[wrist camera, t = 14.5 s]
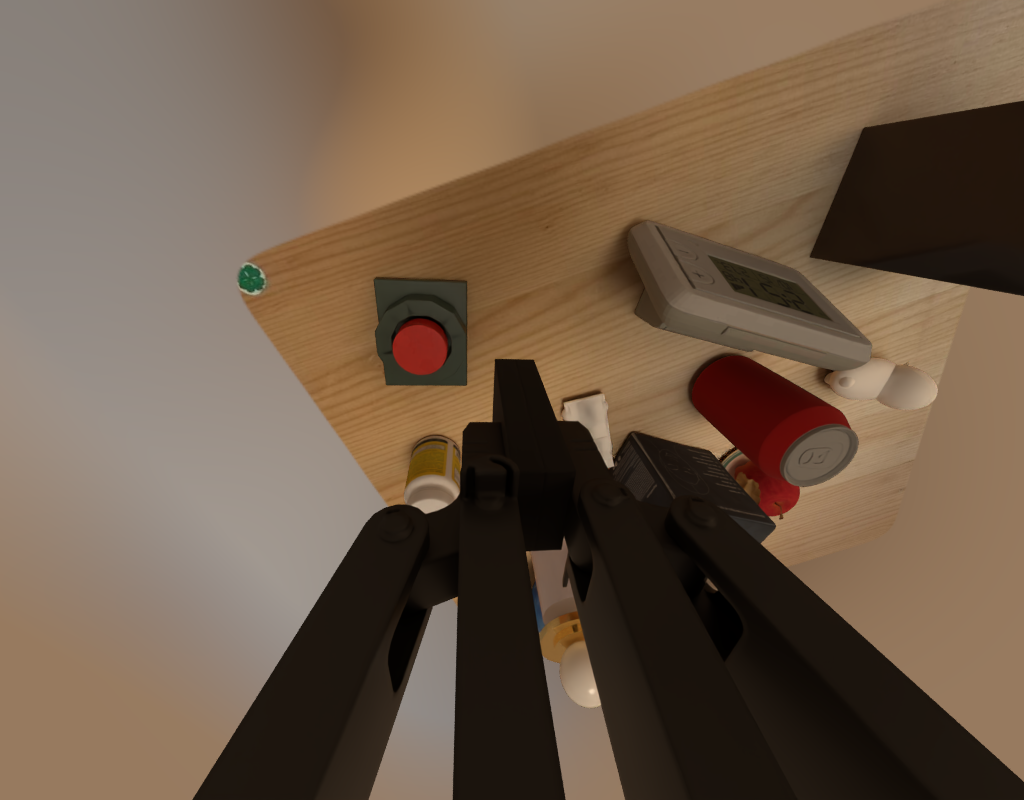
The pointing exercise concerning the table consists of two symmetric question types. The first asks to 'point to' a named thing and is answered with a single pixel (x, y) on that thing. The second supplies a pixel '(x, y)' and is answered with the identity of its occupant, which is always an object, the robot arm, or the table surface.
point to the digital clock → (739, 300)
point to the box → (685, 480)
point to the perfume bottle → (563, 628)
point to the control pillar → (935, 200)
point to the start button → (420, 346)
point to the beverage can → (775, 421)
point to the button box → (428, 302)
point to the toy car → (592, 421)
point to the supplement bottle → (433, 474)
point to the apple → (761, 485)
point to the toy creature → (885, 384)
